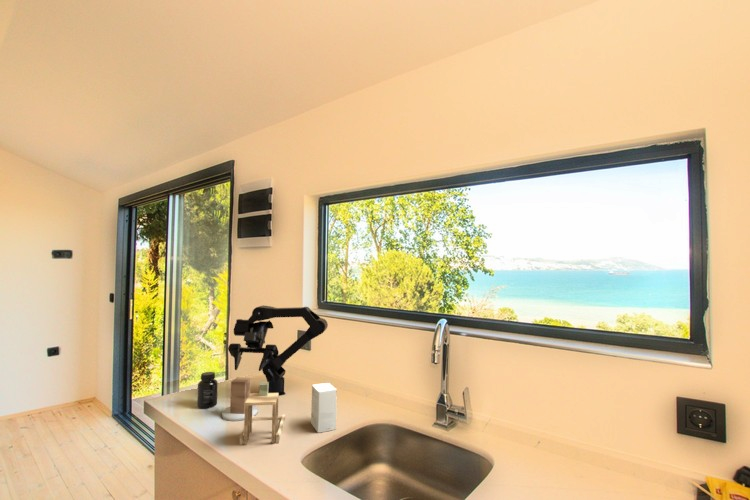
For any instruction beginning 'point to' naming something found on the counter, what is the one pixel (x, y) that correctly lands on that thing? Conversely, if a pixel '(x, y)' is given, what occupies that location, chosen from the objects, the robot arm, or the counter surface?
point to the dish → (237, 417)
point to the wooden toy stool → (261, 399)
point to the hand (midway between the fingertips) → (247, 370)
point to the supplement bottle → (207, 391)
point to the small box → (323, 407)
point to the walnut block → (239, 394)
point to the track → (267, 419)
